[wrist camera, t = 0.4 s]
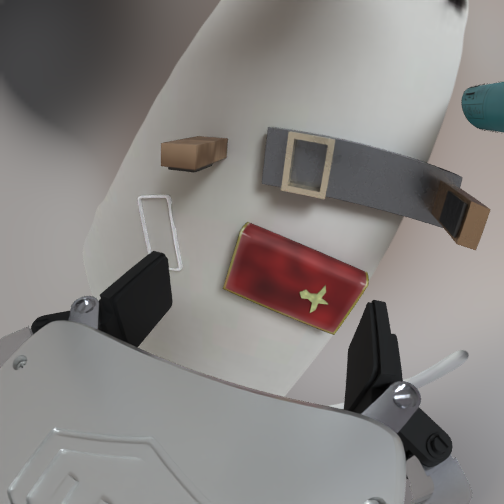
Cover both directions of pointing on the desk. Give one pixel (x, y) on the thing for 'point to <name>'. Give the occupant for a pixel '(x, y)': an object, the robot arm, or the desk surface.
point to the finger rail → (372, 181)
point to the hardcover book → (293, 279)
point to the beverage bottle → (485, 106)
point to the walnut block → (193, 153)
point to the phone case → (171, 226)
